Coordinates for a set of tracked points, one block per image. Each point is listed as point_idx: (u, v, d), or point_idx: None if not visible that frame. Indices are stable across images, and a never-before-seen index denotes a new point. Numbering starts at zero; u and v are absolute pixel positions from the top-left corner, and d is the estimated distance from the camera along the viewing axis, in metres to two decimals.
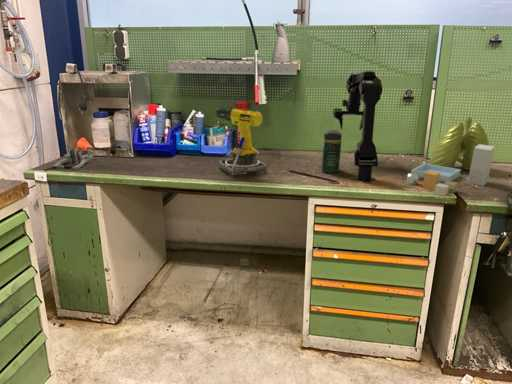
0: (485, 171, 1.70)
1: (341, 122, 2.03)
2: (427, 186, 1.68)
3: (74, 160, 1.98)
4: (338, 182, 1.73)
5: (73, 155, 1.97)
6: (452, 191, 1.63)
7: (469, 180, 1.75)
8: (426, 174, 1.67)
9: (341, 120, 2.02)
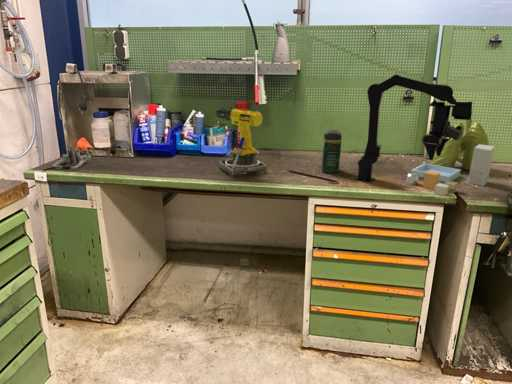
0: (485, 171, 1.70)
1: None
2: (427, 186, 1.68)
3: (72, 160, 1.98)
4: (338, 182, 1.73)
5: (71, 155, 1.97)
6: (452, 191, 1.63)
7: (469, 180, 1.75)
8: (426, 174, 1.67)
9: None
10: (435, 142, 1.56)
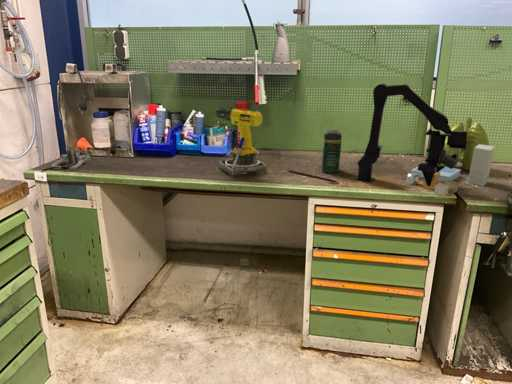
0: (485, 171, 1.70)
1: None
2: (427, 186, 1.68)
3: (71, 160, 1.97)
4: (337, 182, 1.73)
5: (70, 155, 1.96)
6: (452, 191, 1.63)
7: (469, 180, 1.75)
8: None
9: None
10: (430, 171, 1.59)
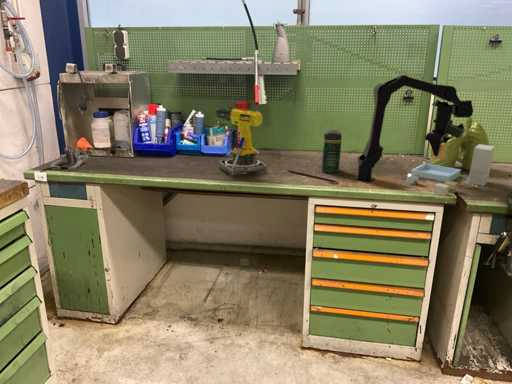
0: (485, 171, 1.70)
1: None
2: (434, 156, 1.73)
3: (70, 161, 1.97)
4: (337, 182, 1.73)
5: (69, 156, 1.96)
6: (452, 191, 1.63)
7: (469, 180, 1.75)
8: None
9: None
10: (437, 140, 1.64)
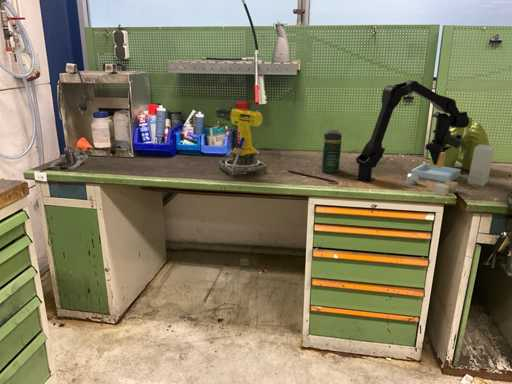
0: (485, 171, 1.70)
1: None
2: (434, 165, 1.82)
3: (69, 161, 1.97)
4: (337, 182, 1.72)
5: (68, 156, 1.96)
6: (452, 191, 1.63)
7: (469, 180, 1.75)
8: None
9: None
10: (437, 149, 1.73)
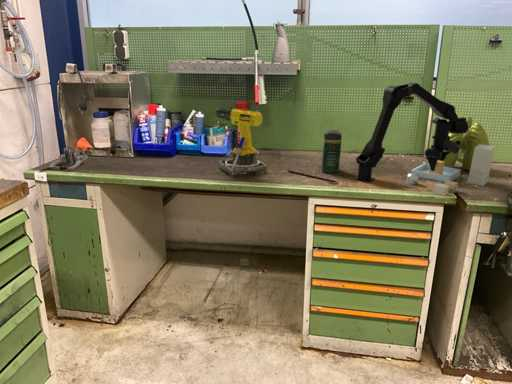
0: (485, 171, 1.70)
1: None
2: None
3: (69, 161, 1.97)
4: (337, 182, 1.72)
5: (68, 156, 1.96)
6: (452, 191, 1.63)
7: (469, 180, 1.75)
8: None
9: None
10: (436, 155, 1.74)
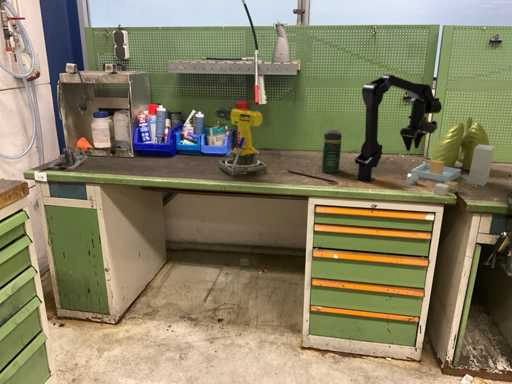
0: (485, 171, 1.70)
1: None
2: None
3: (68, 161, 1.97)
4: (337, 182, 1.72)
5: (67, 156, 1.95)
6: (452, 191, 1.63)
7: (469, 180, 1.75)
8: (432, 162, 1.83)
9: None
10: (411, 134, 1.75)
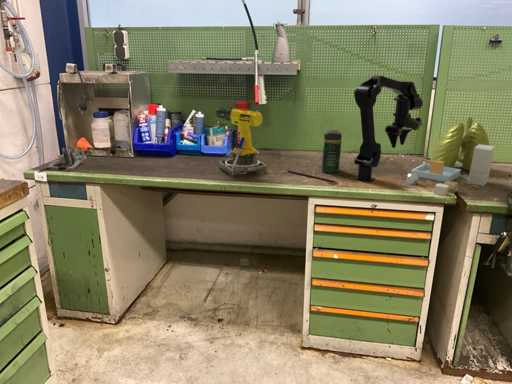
0: (485, 171, 1.70)
1: None
2: None
3: (68, 161, 1.96)
4: (337, 182, 1.72)
5: (67, 156, 1.95)
6: (452, 191, 1.63)
7: (469, 180, 1.75)
8: (432, 162, 1.83)
9: None
10: (395, 131, 1.76)
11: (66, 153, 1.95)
